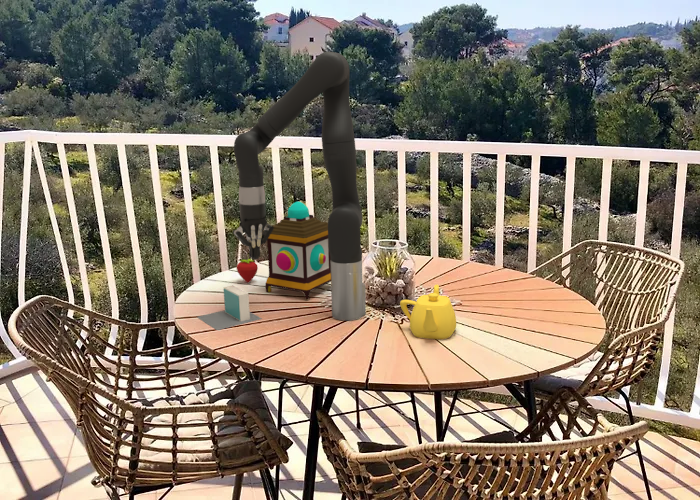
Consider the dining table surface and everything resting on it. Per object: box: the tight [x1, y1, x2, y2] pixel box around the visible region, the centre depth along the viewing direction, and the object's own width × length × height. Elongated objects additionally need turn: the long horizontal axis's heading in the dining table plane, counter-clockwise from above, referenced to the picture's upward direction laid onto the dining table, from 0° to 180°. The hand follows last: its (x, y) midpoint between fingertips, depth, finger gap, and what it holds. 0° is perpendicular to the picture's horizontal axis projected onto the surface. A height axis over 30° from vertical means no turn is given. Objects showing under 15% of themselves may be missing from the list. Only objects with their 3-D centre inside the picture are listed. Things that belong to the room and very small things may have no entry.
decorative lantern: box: [264, 201, 331, 301], centre depth 218 cm, size 20×20×30 cm
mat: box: [196, 309, 263, 331], centre depth 195 cm, size 14×14×1 cm
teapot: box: [399, 284, 457, 340], centre depth 182 cm, size 22×16×11 cm
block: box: [223, 285, 251, 321], centre depth 196 cm, size 3×10×8 cm, turn 37°
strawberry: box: [236, 258, 259, 284], centre depth 229 cm, size 6×8×10 cm
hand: (255, 258), depth 197 cm, fingers closed
